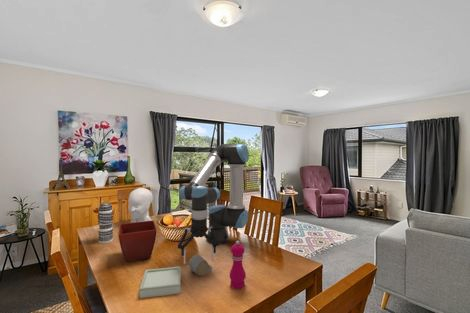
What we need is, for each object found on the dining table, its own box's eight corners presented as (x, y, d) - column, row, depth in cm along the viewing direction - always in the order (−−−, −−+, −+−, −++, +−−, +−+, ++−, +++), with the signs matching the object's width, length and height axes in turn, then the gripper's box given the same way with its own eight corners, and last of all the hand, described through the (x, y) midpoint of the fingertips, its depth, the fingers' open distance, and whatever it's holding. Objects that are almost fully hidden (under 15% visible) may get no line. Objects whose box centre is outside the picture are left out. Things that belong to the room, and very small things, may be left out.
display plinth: (180, 274, 116) (180, 266, 116) (180, 293, 100) (180, 284, 100) (145, 277, 112) (145, 269, 112) (139, 298, 97) (139, 288, 97)
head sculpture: (119, 228, 184) (119, 189, 184) (136, 220, 207) (136, 185, 206) (143, 230, 181) (143, 190, 180) (157, 221, 203) (157, 186, 203)
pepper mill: (228, 281, 110) (229, 238, 110) (244, 280, 111) (244, 237, 110) (229, 290, 103) (230, 244, 102) (246, 289, 103) (246, 243, 103)
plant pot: (118, 266, 124) (118, 234, 123) (119, 252, 141) (119, 223, 141) (156, 259, 131) (156, 229, 131) (153, 247, 149) (153, 220, 148)
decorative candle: (114, 241, 158) (114, 203, 157) (98, 244, 153) (98, 205, 152) (112, 237, 166) (112, 201, 165) (97, 239, 160) (97, 202, 160)
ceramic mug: (196, 278, 112) (196, 262, 112) (188, 271, 118) (188, 256, 118) (215, 272, 119) (215, 256, 118) (206, 265, 125) (206, 251, 125)
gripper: (222, 214, 124) (222, 255, 124) (173, 217, 118) (172, 259, 118) (225, 218, 116) (225, 262, 116) (172, 221, 111) (172, 266, 111)
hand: (198, 261), depth 117 cm, fingers open, 13 cm apart
